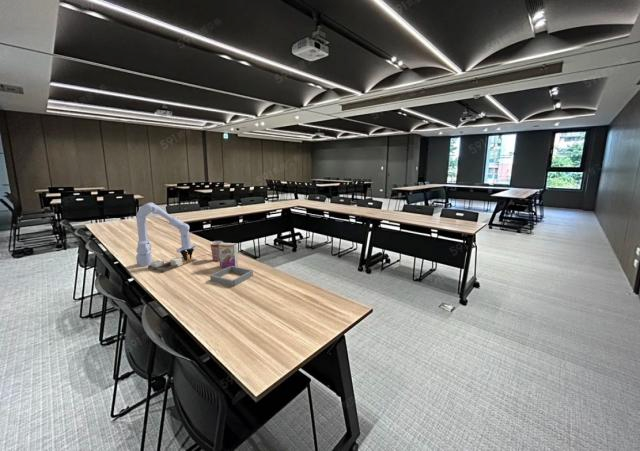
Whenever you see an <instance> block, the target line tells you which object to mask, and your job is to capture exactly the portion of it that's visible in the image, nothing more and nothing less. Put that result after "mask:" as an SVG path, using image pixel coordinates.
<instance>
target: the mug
mask: <svg viewBox="0 0 640 451" xmlns="http://www.w3.org/2000/svg"><path fill="white" fill-rule="evenodd" d="M220 243H224V241H222V240H214V241H211V242H210V243H209V245H210V250H211V256H212V261H213V262H216V263H218V262H219V263H220V260H219V247H218V245H219V244H220Z"/></svg>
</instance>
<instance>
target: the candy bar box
mask: <svg viewBox="0 0 640 451" xmlns="http://www.w3.org/2000/svg"><path fill="white" fill-rule="evenodd" d="M237 244H238V243H237V242H236V243H235V242H233V243H232V242H223V243H220V244H219V245H218V247H219V260H220V261H219V267H220V268H227V267H229V266H235V267H239V266H238V265H239V261H238V247H237V246H238V245H237Z"/></svg>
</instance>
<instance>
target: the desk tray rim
mask: <svg viewBox="0 0 640 451" xmlns="http://www.w3.org/2000/svg"><path fill="white" fill-rule="evenodd" d="M232 272H233V273H237V274H241V275H240V276H238V277H236V278H234V279H230V278H226V277H224V276H226V275H228V274H230V273H232ZM209 277H210V282H213V283H215V284H220V285H224V286H228V287H232V288H233V287H237V286H238V285H239V284H241V283H243V282H244V281H246V280H249V279H250V278H252V277H254V270H253V269H249V268H244V267H239V266H237V267H235V266H229V267H224V268H223V269H221V270H218V271H217V272H214V273H212V274H210V276H209Z"/></svg>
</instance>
